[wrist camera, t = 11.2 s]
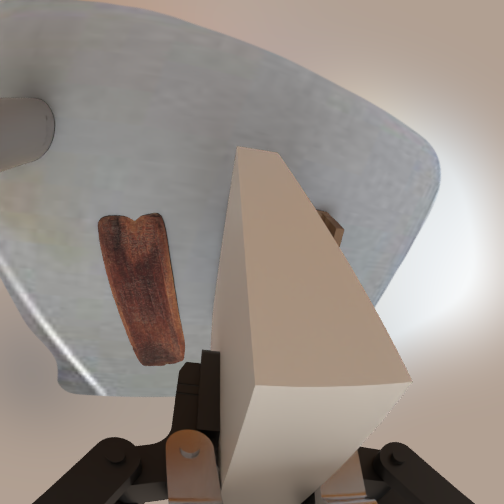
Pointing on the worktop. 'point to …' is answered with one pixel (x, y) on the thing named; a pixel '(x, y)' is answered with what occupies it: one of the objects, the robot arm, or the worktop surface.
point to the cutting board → (291, 343)
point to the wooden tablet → (143, 286)
